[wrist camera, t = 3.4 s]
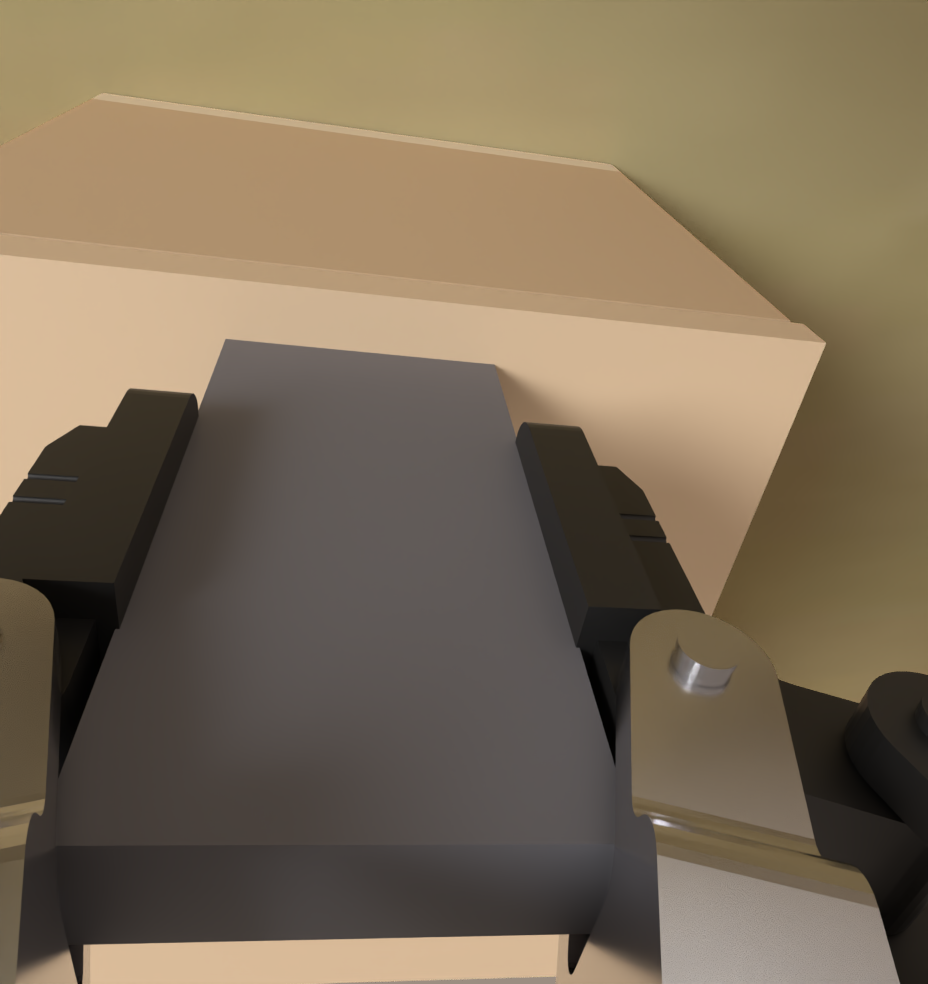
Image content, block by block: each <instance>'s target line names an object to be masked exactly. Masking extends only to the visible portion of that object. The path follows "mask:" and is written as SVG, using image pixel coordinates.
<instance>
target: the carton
mask: <svg viewBox="0 0 928 984" xmlns="http://www.w3.org/2000/svg"><path fill="white" fill-rule="evenodd" d="M0 235H8V236H17V237H26V238H35V239H44V240H53V241H62V242H71V243H80V244H89V245H98V246H107V247H116V248H125V249H134V250H143V251H152V252H161V253H170V254H179V255H188V256H197V257H206V258H215V259H224V260H233V261H242V262H251V263H260V264H269V265H278V266H287V267H296V268H305V269H314V270H323V271H332V272H341V273H350V274H359V275H368V276H377V277H386V278H395V279H404V280H413V281H422V282H431V283H440V284H449V285H458V286H467V287H476V288H485V289H494V290H503V291H512V292H521V293H530V294H539V295H548V296H557V297H566V298H575V299H584V300H593V301H602V302H611V303H620V304H629V305H638V306H647V307H656V308H665V309H674V310H683V311H693V312H702V313H711V314H720V315H729V316H738V317H747V318H756V319H765V320H774V321H783V322H790V320H789V319H788V318H787V317H786V316H784V315H783V314H782V313H781V312H780V311H779V310H778V309H776V308H775V307H774V306H773V305H772V304H771V303H770V302H768V301H767V300H766V299H765V298H764V297H763V296H762V295H760V294H759V293H758V292H757V291H756V290H755V289H754V288H752V287H751V286H750V285H749V284H748V283H747V282H746V281H744V280H743V279H742V278H741V277H740V276H739V275H738V274H736V273H735V272H734V271H733V270H732V269H731V268H730V267H728V266H727V265H726V264H725V263H724V262H723V261H722V260H720V259H719V258H718V257H717V256H716V255H715V254H714V253H712V252H711V251H710V250H709V249H708V248H707V247H706V246H704V245H703V244H702V243H701V242H700V241H699V240H698V239H696V238H695V237H694V236H693V235H692V234H691V233H690V232H688V231H687V230H686V229H685V228H684V227H683V226H682V225H680V224H679V223H678V222H677V221H676V220H675V219H674V218H672V217H671V216H670V215H669V214H668V213H667V212H666V211H664V210H663V209H662V208H661V207H660V206H659V205H658V204H657V203H655V202H654V201H653V200H652V199H651V198H650V197H649V196H647V195H646V194H645V193H644V192H643V191H642V190H641V189H639V188H638V187H637V186H636V185H635V184H634V183H633V182H631V181H630V180H629V179H628V178H627V177H626V176H625V175H623V174H622V173H621V172H620V171H619V170H618V169H617V168H615V167H614V166H613V165H612V164H607V163H600V162H592V161H585V160H578V159H571V158H564V157H557V156H549V155H542V154H535V153H528V152H521V151H514V150H507V149H499V148H492V147H485V146H478V145H471V144H464V143H457V142H449V141H442V140H435V139H428V138H421V137H414V136H407V135H399V134H392V133H385V132H378V131H371V130H364V129H357V128H349V127H342V126H335V125H328V124H321V123H314V122H307V121H299V120H292V119H285V118H278V117H271V116H264V115H257V114H249V113H242V112H235V111H228V110H221V109H214V108H207V107H199V106H192V105H185V104H178V103H171V102H164V101H157V100H149V99H142V98H135V97H128V96H121V95H114V94H107V93H102V94H100V95H98V96H96V97H94V98H92V99H90V100H88V101H86V102H84V103H82V104H80V105H78V106H76V107H75V108H73V109H71V110H69V111H67V112H65V113H63V114H61V115H59V116H57V117H55V118H53V119H51V120H49V121H47V122H45V123H43V124H42V125H40V126H38V127H36V128H34V129H32V130H30V131H28V132H26V133H24V134H22V135H20V136H18V137H16V138H14V139H12V140H11V141H9V142H7V143H5V144H3V145H1V146H0Z"/></svg>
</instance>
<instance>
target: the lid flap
mask: <svg viewBox="0 0 928 984" xmlns="http://www.w3.org/2000/svg"><path fill="white" fill-rule="evenodd" d="M825 345H826V342H824V341H823V340H822V339H821V338H820V337H819V336H817V335H816V334H815V333H814V332H813V331H811V330H810V329H809V328H808V327H807V326H806V325H804V324H801V323H792V322H783V321H774V320H765V319H756V318H747V317H738V316H729V315H720V314H711V313H702V312H693V311H683V310H674V309H665V308H656V307H647V306H638V305H629V304H620V303H611V302H602V301H593V300H584V299H575V298H566V297H557V296H548V295H539V294H530V293H521V292H512V291H503V290H494V289H485V288H476V287H467V286H458V285H449V284H440V283H431V282H422V281H413V280H404V279H395V278H386V277H377V276H368V275H359V274H350V273H341V272H332V271H323V270H314V269H305V268H296V267H287V266H278V265H269V264H260V263H251V262H242V261H233V260H224V259H215V258H206V257H197V256H188V255H179V254H170V253H161V252H152V251H143V250H134V249H125V248H116V247H107V246H98V245H89V244H80V243H71V242H62V241H53V240H44V239H35V238H26V237H17V236H8V235H0V514H1V513H2V511H3V510H4V508H5V507H6V505H7V504H8V502H12V501H13V495H14V493H15V492H16V490H17V489H18V487H19V486H20V484H21V483H22V481H23V480H24V479H27V478H28V472H29V471H30V469H31V467H32V466H33V464H34V463H35V461H36V460H37V458H38V457H39V455H40V454H41V452H42V451H43V449H44V448H45V446H47V445H48V444H50V443H52V442H53V441H55V440H56V439H58V438H60V437H61V436H63V435H64V434H66V433H68V432H69V431H71V430H72V429H74V428H76V427H77V426H79V425H86V426H99V427H107V426H108V424H109V422H110V420H111V419H112V417H113V415H114V413H115V411H116V410H117V408H118V406H119V404H120V402H121V401H122V399H123V397H124V395H125V393H126V392H127V390H128V389H130V388H136V389H147V390H159V391H171V392H183V393H194V394H195V396H196V398H197V403H198V411H199V417H198V420H197V422H196V425H195V428H194V430H193V433H192V436H191V438H190V441H189V444H188V446H187V449H186V452H185V454H184V457H183V460H182V463H181V465H180V468H179V471H178V473H177V476H176V479H175V481H174V484H173V487H172V489H171V492H170V495H169V497H168V500H167V503H166V506H165V508H164V511H163V514H162V516H161V519H160V522H159V524H158V527H157V530H156V532H155V535H154V538H153V540H152V543H151V546H150V548H149V551H148V554H147V557H146V559H145V562H144V565H143V567H142V570H141V573H140V575H139V578H138V581H137V583H136V586H135V589H134V591H133V594H132V597H131V599H130V602H129V605H128V608H127V610H126V613H125V616H124V618H123V621H122V624H121V626H120V629H115V631H114V633H113V636H112V639H111V641H110V644H109V646H108V649H107V652H106V654H105V657H104V660H103V662H102V665H101V668H100V670H99V673H98V675H97V678H96V681H95V683H94V686H93V689H92V691H91V694H90V696H89V699H88V702H87V704H86V707H85V710H84V712H83V715H82V717H81V720H80V723H79V725H78V728H77V731H76V733H75V736H74V738H73V741H72V744H71V746H70V749H69V752H68V754H67V757H66V759H65V762H64V765H63V767H62V770H61V773H60V775H59V778H58V793H57V819H56V878H57V891H58V900H59V907H60V912H61V917H62V921H63V925H64V930H65V934H66V938H67V942H68V945H90V984H320V983H353V982H384V981H385V982H386V981H418V980H450V979H451V980H452V979H486V978H519V977H552V976H556V972H557V957H558V943H559V935H564V934H591V932H592V930H593V927H594V925H595V923H596V920H597V918H598V916H599V914H600V911H601V909H602V907H603V904H604V902H605V899H606V895H607V892H608V888H609V883H610V878H611V872H612V866H613V858H614V846H615V772H616V768H615V764H614V761H613V758H612V754H611V751H610V748H609V744H608V741H607V738H606V734H605V731H604V728H603V724H602V721H601V718H600V714H599V711H598V708H597V704H596V701H595V698H594V694H593V691H592V688H591V684H590V681H589V678H588V674H587V671H586V668H585V664H584V661H583V658H582V654H581V651H580V648H576V646H575V643H574V639H573V636H572V633H571V629H570V626H569V623H568V619H567V616H566V612H565V609H564V606H563V602H562V599H561V595H560V592H559V589H558V585H557V582H556V578H555V575H554V572H553V568H552V565H551V561H550V558H549V555H548V551H547V548H546V545H545V541H544V538H543V534H542V531H541V528H540V524H539V521H538V517H537V514H536V511H535V507H534V504H533V500H532V497H531V494H530V490H529V487H528V483H527V480H526V477H525V473H524V470H523V467H522V463H521V460H520V456H519V453H518V450H517V446H516V443H515V441H516V437H517V433H518V430H519V428H520V426H521V424H522V423H523V422H532V423H544V424H556V425H568V426H578V427H580V428H581V429H582V430H583V432H584V435H585V437H586V439H587V441H588V444H589V446H590V448H591V450H592V453H593V455H594V457H595V459H596V462H597V464H598V465H601V466H614V467H617V468H618V469H619V470H621V471H622V472H623V473H624V474H625V475H626V476H627V477H629V478H630V479H631V480H632V481H633V482H634V483H635V484H637V485H638V486H639V487H640V488H641V489H642V490H643V491H644V493H645V495H646V497H647V499H648V501H649V503H650V505H651V507H652V509H653V511H654V513H655V515H656V518H655V520H656V521H659V523H660V525H661V527H662V529H663V531H664V533H665V535H666V537H667V538H666V543H670V545H671V547H672V549H673V551H674V553H675V555H676V557H677V559H678V561H679V563H680V565H681V567H682V569H683V570H684V572H685V574H686V576H687V578H688V580H689V582H690V584H691V586H692V588H693V590H694V592H695V594H696V596H697V598H698V600H699V602H700V604H701V606H702V608H703V610H704V612H705V614H707V615H710V616H712V614H713V611H714V609H715V607H716V604H717V602H718V600H719V597H720V595H721V592H722V590H723V588H724V585H725V583H726V581H727V578H728V576H729V573H730V571H731V569H732V566H733V564H734V562H735V559H736V557H737V554H738V552H739V550H740V547H741V545H742V543H743V540H744V538H745V535H746V533H747V531H748V528H749V526H750V523H751V521H752V519H753V516H754V514H755V512H756V509H757V507H758V504H759V502H760V500H761V497H762V495H763V493H764V490H765V488H766V485H767V483H768V481H769V478H770V476H771V474H772V471H773V469H774V466H775V464H776V462H777V459H778V457H779V455H780V452H781V450H782V447H783V445H784V443H785V440H786V438H787V436H788V433H789V431H790V428H791V426H792V424H793V421H794V419H795V416H796V414H797V412H798V409H799V407H800V405H801V402H802V400H803V397H804V395H805V393H806V390H807V388H808V386H809V383H810V381H811V378H812V376H813V374H814V371H815V369H816V367H817V364H818V362H819V359H820V357H821V355H822V352H823V350H824V348H825Z"/></svg>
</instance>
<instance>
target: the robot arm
mask: <svg viewBox="0 0 928 984" xmlns="http://www.w3.org/2000/svg"><path fill="white" fill-rule="evenodd" d="M198 417H199V411H198V403H197V398H196V396H195V394H194V393H183V392H171V391H159V390H147V389H136V388H130V389H128V390H127V392H126V393H125V395H124V397H123V399H122V401H121V402H120V404H119V406H118V408H117V410H116V411H115V413H114V415H113V417H112V419H111V420H110V422H109V424H108V426H107V427H99V426H86V425H79V426H77V427H76V428H74V429H72V430H71V431H69V432H68V433H66V434H64V435H63V436H61V437H60V438H58V439H56V440H55V441H53V442H52V443H50V444H48V445H47V446H45V448H44V449H43V451H42V452H41V454H40V455H39V457H38V458H37V460H36V461H35V463H34V464H33V466H32V467H31V469H30V471H29V472H28V478H27V479H24V480H23V481H22V483H21V484H20V486H19V487H18V489H17V490H16V492H15V493H14V495H13V501H12V502H8V504H7V505H6V507H5V508H4V510H3V511H2V513H1V514H0V984H90V945H68V942H67V938H66V934H65V930H64V925H63V921H62V917H61V912H60V907H59V900H58V891H57V878H56V819H57V793H58V778H59V775H60V773H61V770H62V767H63V765H64V762H65V759H66V757H67V754H68V752H69V749H70V746H71V744H72V741H73V738H74V736H75V733H76V731H77V728H78V725H79V723H80V720H81V717H82V715H83V712H84V710H85V707H86V704H87V702H88V699H89V696H90V694H91V691H92V689H93V686H94V683H95V681H96V678H97V675H98V673H99V670H100V668H101V665H102V662H103V660H104V657H105V654H106V652H107V649H108V646H109V644H110V641H111V639H112V636H113V633H114V631H115V629H120V626H121V624H122V621H123V618H124V616H125V613H126V610H127V608H128V605H129V602H130V599H131V597H132V594H133V591H134V589H135V586H136V583H137V581H138V578H139V575H140V573H141V570H142V567H143V565H144V562H145V559H146V557H147V554H148V551H149V548H150V546H151V543H152V540H153V538H154V535H155V532H156V530H157V527H158V524H159V522H160V519H161V516H162V514H163V511H164V508H165V506H166V503H167V500H168V497H169V495H170V492H171V489H172V487H173V484H174V481H175V479H176V476H177V473H178V471H179V468H180V465H181V463H182V460H183V457H184V454H185V452H186V449H187V446H188V444H189V441H190V438H191V436H192V433H193V430H194V428H195V425H196V422H197V420H198ZM515 443H516V446H517V450H518V453H519V456H520V460H521V463H522V467H523V470H524V473H525V477H526V480H527V483H528V487H529V490H530V494H531V497H532V500H533V504H534V507H535V511H536V514H537V517H538V521H539V524H540V528H541V531H542V534H543V538H544V541H545V545H546V548H547V551H548V555H549V558H550V561H551V565H552V568H553V572H554V575H555V578H556V582H557V585H558V589H559V592H560V595H561V599H562V602H563V606H564V609H565V612H566V616H567V619H568V623H569V626H570V629H571V633H572V636H573V639H574V643H575V646H576V648H580V651H581V654H582V658H583V661H584V664H585V668H586V671H587V674H588V678H589V681H590V684H591V688H592V691H593V694H594V698H595V701H596V704H597V708H598V711H599V714H600V718H601V721H602V724H603V728H604V731H605V734H606V738H607V741H608V744H609V748H610V751H611V754H612V758H613V761H614V764H615V768H616V772H615V846H614V858H613V866H612V872H611V878H610V883H609V888H608V892H607V895H606V899H605V902H604V904H603V907H602V909H601V911H600V914H599V916H598V918H597V920H596V923H595V925H594V927H593V930H592V932H591V934H564V935H559V943H558V957H557V972H556V984H928V675H925V674H920V673H914V672H891V673H886V674H884V675H882V676H879V677H878V678H876V679H875V680H874V681H873V682H872V684H871V685H870V687H869V688H868V690H867V692H866V693H865V695H864V697H863V698H862V700H861V702H860V703H856V702H852V701H849V700H845V699H842V698H838V697H835V696H831V695H828V694H824V693H820V692H817V691H813V690H810V689H806V688H803V687H799V686H796V685H793V684H790V683H787V682H784V681H781V680H779V679H778V677H777V674H776V671H775V668H774V666H773V664H772V662H771V661H770V659H769V657H768V656H767V655H766V653H765V652H764V651H763V650H762V648H761V647H760V646H759V645H758V644H757V643H756V642H755V641H754V640H752V639H751V638H750V637H749V636H747V635H746V634H745V633H743V632H742V631H740V630H739V629H737V628H736V627H734V626H732V625H730V624H728V623H726V622H724V621H722V620H720V619H718V618H715V617H713V616H710V615H707V614H705V612H704V610H703V608H702V606H701V604H700V602H699V600H698V598H697V596H696V594H695V592H694V590H693V588H692V586H691V584H690V582H689V580H688V578H687V576H686V574H685V572H684V570H683V569H682V567H681V565H680V563H679V561H678V559H677V557H676V555H675V553H674V551H673V549H672V547H671V545H670V543H666V538H667V537H666V535H665V533H664V531H663V529H662V527H661V525H660V523H659V521H656V520H655V518H656V515H655V513H654V511H653V509H652V507H651V505H650V503H649V501H648V499H647V497H646V495H645V493H644V491H643V490H642V489H641V488H640V487H639V486H638V485H637V484H635V483H634V482H633V481H632V480H631V479H630V478H629V477H627V476H626V475H625V474H624V473H623V472H622V471H621V470H619V469H618V468H617V467H614V466H601V465H598V464H597V462H596V459H595V457H594V455H593V453H592V450H591V448H590V446H589V444H588V441H587V439H586V437H585V435H584V432H583V430H582V429H581V428H580V427H578V426H568V425H556V424H544V423H532V422H523V423H522V424H521V426H520V428H519V430H518V433H517V437H516V441H515Z"/></svg>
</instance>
